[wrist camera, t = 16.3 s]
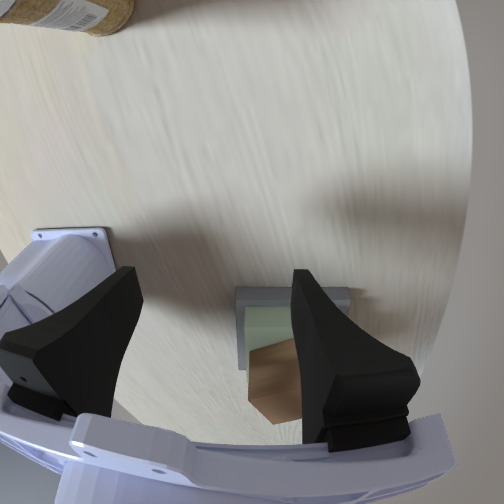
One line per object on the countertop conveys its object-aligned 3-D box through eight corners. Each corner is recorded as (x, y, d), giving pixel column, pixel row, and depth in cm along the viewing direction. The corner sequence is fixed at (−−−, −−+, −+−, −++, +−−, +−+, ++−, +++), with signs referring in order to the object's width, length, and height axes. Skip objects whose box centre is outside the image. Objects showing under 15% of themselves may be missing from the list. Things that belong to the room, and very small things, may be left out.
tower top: (247, 363, 29) (247, 382, 27) (245, 306, 25) (244, 327, 23) (324, 361, 29) (327, 380, 27) (337, 305, 25) (343, 325, 23)
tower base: (239, 352, 32) (238, 369, 30) (237, 281, 27) (235, 299, 25) (327, 351, 32) (330, 368, 30) (345, 282, 26) (351, 299, 24)
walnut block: (271, 379, 27) (273, 424, 22) (249, 350, 24) (247, 400, 20) (321, 365, 25) (329, 411, 21) (305, 333, 23) (312, 384, 19)
